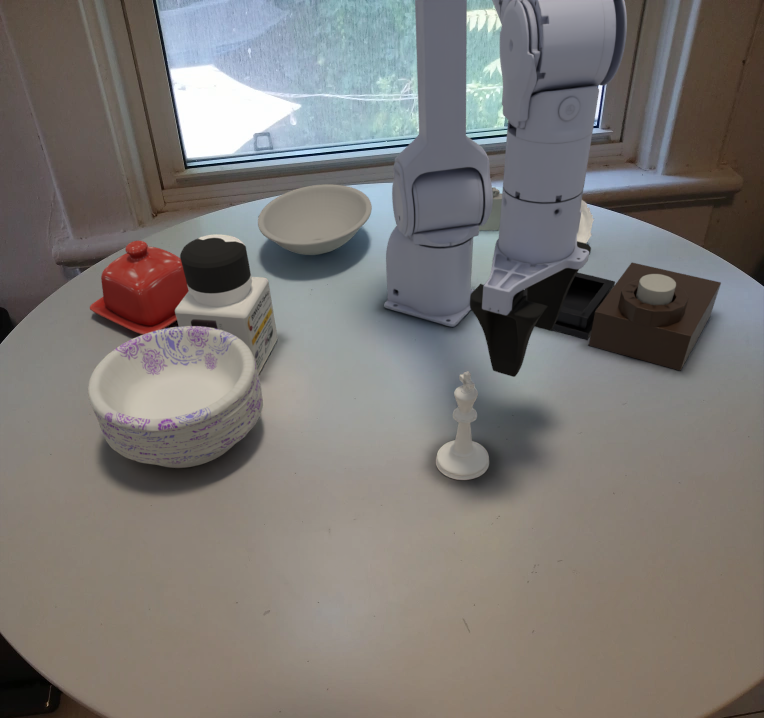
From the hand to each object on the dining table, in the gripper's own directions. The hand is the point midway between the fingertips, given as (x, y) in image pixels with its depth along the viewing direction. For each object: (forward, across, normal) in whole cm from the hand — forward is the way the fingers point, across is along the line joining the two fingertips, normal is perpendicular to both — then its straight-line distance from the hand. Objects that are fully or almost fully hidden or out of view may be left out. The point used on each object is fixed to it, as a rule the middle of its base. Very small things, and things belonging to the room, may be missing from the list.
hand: (523, 348), depth 62 cm
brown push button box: (+10, +24, -6) cm, 27 cm away
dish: (+10, +24, +39) cm, 47 cm away
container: (+10, -1, +33) cm, 35 cm away
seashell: (+10, +39, +10) cm, 41 cm away
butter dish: (+10, +2, +48) cm, 49 cm away
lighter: (+10, +39, +22) cm, 46 cm away
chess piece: (+11, -5, +3) cm, 12 cm away
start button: (+5, +21, -6) cm, 23 cm away
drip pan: (+10, +25, +5) cm, 27 cm away
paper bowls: (+11, -14, +28) cm, 33 cm away
